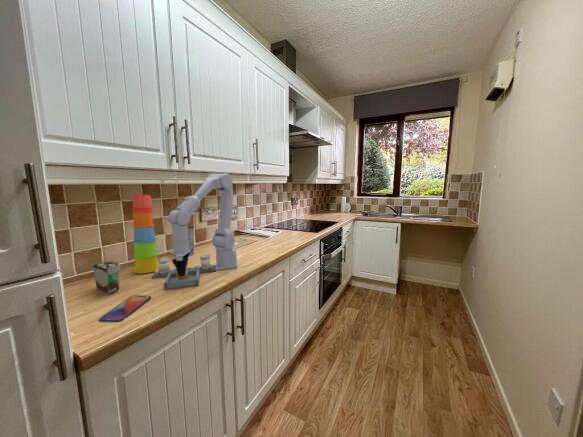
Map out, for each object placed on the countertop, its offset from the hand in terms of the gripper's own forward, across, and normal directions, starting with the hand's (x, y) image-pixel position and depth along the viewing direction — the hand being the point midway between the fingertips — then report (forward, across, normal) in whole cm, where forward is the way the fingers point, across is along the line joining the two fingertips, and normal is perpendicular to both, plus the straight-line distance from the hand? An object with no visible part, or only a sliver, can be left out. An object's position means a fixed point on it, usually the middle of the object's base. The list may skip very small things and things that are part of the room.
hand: (182, 272), depth 99 cm
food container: (+4, -1, -25) cm, 25 cm away
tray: (+4, 0, 0) cm, 4 cm away
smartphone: (+4, +17, -15) cm, 23 cm away
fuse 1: (+3, -11, -8) cm, 14 cm away
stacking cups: (+4, -19, -17) cm, 26 cm away
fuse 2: (+3, -11, +8) cm, 14 cm away
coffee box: (+4, -39, -3) cm, 39 cm away
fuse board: (+4, -11, 0) cm, 12 cm away
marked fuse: (+3, 0, 0) cm, 3 cm away
